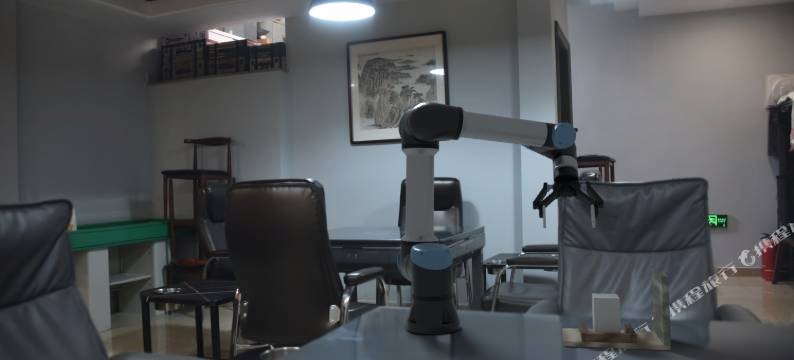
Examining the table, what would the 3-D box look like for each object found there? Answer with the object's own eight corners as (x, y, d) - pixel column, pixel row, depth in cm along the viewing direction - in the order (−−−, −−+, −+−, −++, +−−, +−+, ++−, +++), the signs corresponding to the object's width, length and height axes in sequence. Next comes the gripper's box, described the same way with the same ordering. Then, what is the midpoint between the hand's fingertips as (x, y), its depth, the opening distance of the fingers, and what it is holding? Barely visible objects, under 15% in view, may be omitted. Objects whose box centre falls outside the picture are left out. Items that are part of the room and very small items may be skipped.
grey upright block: (595, 338, 141) (593, 297, 141) (593, 332, 147) (591, 293, 147) (621, 339, 140) (619, 298, 140) (617, 333, 145) (616, 293, 146)
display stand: (564, 346, 140) (561, 275, 140) (562, 332, 152) (560, 267, 152) (671, 350, 133) (668, 276, 134) (660, 336, 146) (657, 268, 146)
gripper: (607, 180, 179) (614, 233, 164) (525, 183, 185) (525, 233, 170) (608, 163, 174) (615, 215, 159) (524, 166, 180) (524, 216, 165)
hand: (569, 225), depth 164 cm, fingers open, 13 cm apart
